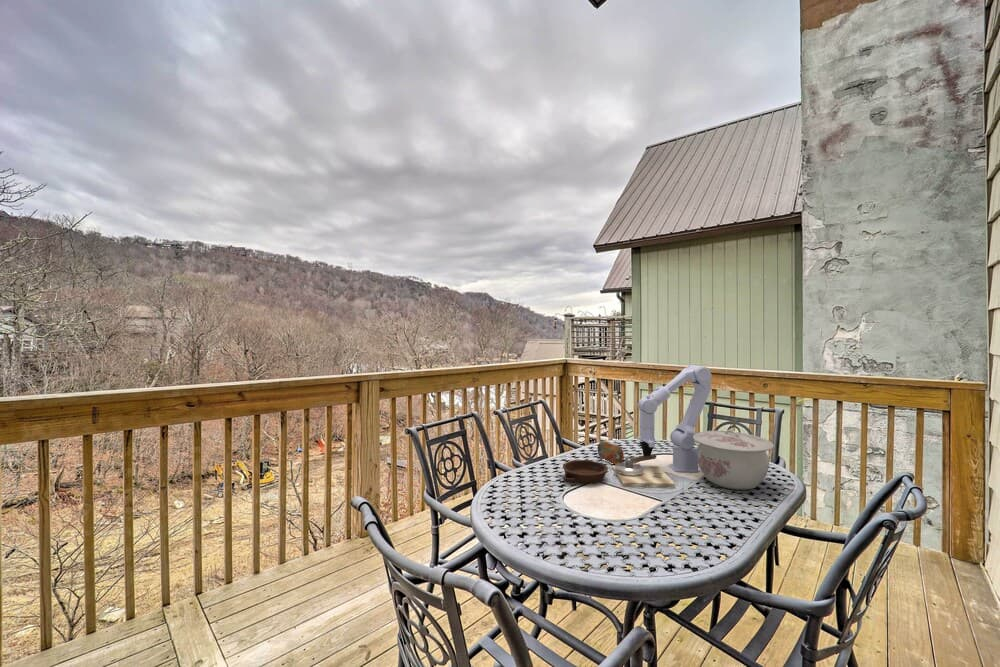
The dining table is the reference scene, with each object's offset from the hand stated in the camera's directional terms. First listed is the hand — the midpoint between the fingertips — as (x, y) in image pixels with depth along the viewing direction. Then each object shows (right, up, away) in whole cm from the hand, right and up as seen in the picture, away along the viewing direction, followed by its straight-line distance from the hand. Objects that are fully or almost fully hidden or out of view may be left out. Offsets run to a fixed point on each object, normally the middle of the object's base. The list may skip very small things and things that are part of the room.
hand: (646, 459), depth 180 cm
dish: (-28, -5, -9) cm, 30 cm away
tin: (-12, -4, +11) cm, 17 cm away
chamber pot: (+27, -5, -15) cm, 31 cm away
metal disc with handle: (-6, -3, -5) cm, 8 cm away
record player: (-5, -5, -9) cm, 11 cm away
